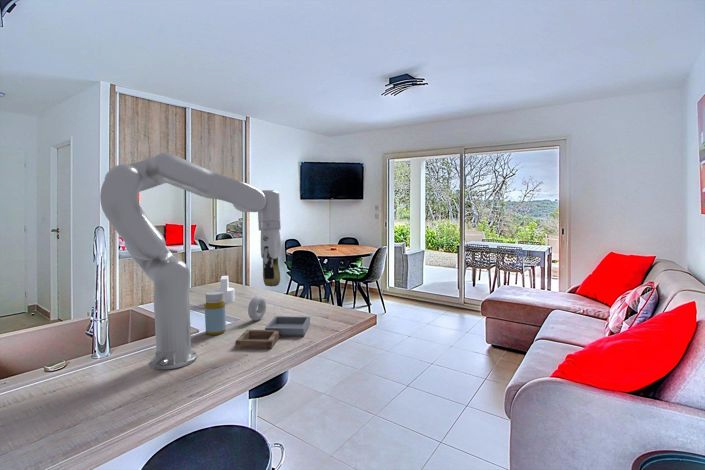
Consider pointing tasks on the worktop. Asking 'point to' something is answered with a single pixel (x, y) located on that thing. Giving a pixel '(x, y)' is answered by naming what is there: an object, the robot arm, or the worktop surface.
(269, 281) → the fennel bulb
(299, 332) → the tray
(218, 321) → the bottle
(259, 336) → the holder
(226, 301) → the cylinder with rectangular tab
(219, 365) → the worktop surface
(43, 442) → the worktop surface
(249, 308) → the donut
